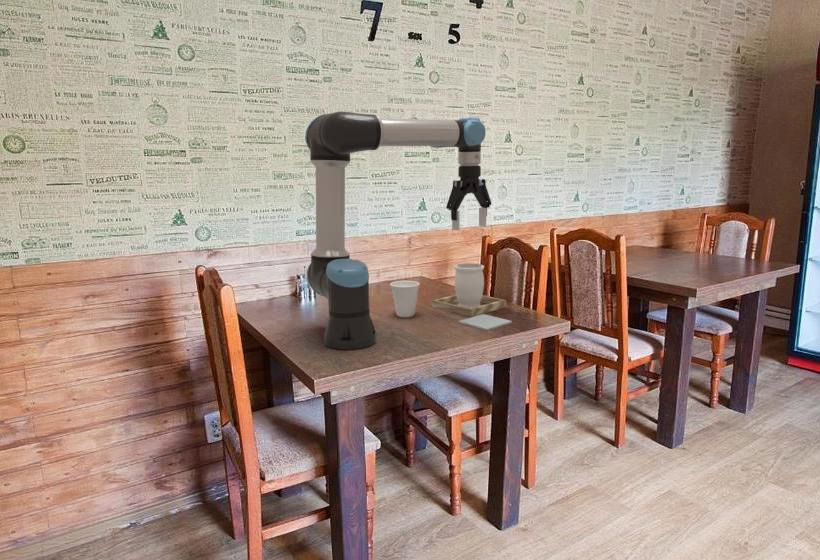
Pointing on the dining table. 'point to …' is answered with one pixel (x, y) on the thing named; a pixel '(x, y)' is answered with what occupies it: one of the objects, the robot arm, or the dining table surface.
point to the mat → (485, 322)
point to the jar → (469, 284)
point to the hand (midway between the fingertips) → (469, 228)
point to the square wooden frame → (448, 306)
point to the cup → (405, 297)
